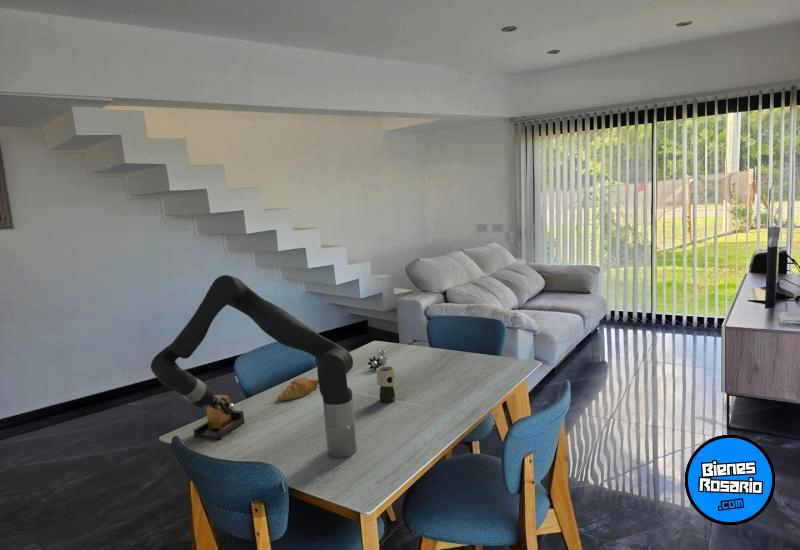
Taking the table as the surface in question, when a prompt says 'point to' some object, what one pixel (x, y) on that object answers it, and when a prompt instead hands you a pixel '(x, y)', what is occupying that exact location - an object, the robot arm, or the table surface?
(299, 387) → the croissant
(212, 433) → the tray
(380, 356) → the valve
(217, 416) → the block
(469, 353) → the table surface
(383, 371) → the character mug
